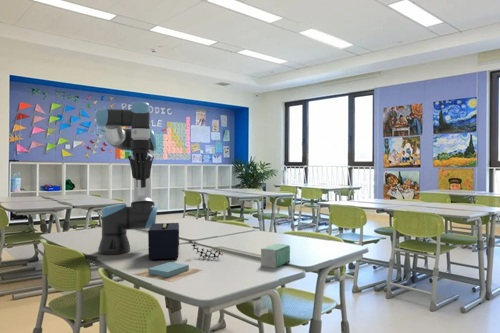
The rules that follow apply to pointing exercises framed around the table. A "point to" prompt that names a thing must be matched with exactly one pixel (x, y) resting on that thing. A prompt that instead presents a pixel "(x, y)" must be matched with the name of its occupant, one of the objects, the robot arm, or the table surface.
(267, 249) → the box
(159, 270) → the tile
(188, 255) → the table surface
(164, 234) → the speaker
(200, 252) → the molecular model
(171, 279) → the mat
